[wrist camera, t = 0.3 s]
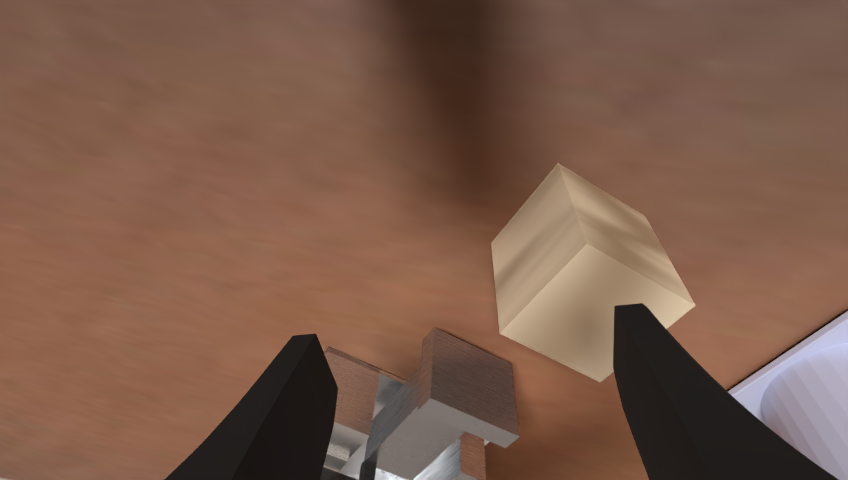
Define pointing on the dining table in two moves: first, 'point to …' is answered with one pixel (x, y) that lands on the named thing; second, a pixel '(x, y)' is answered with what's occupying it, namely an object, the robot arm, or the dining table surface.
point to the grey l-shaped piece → (440, 409)
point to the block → (579, 273)
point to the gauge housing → (356, 408)
